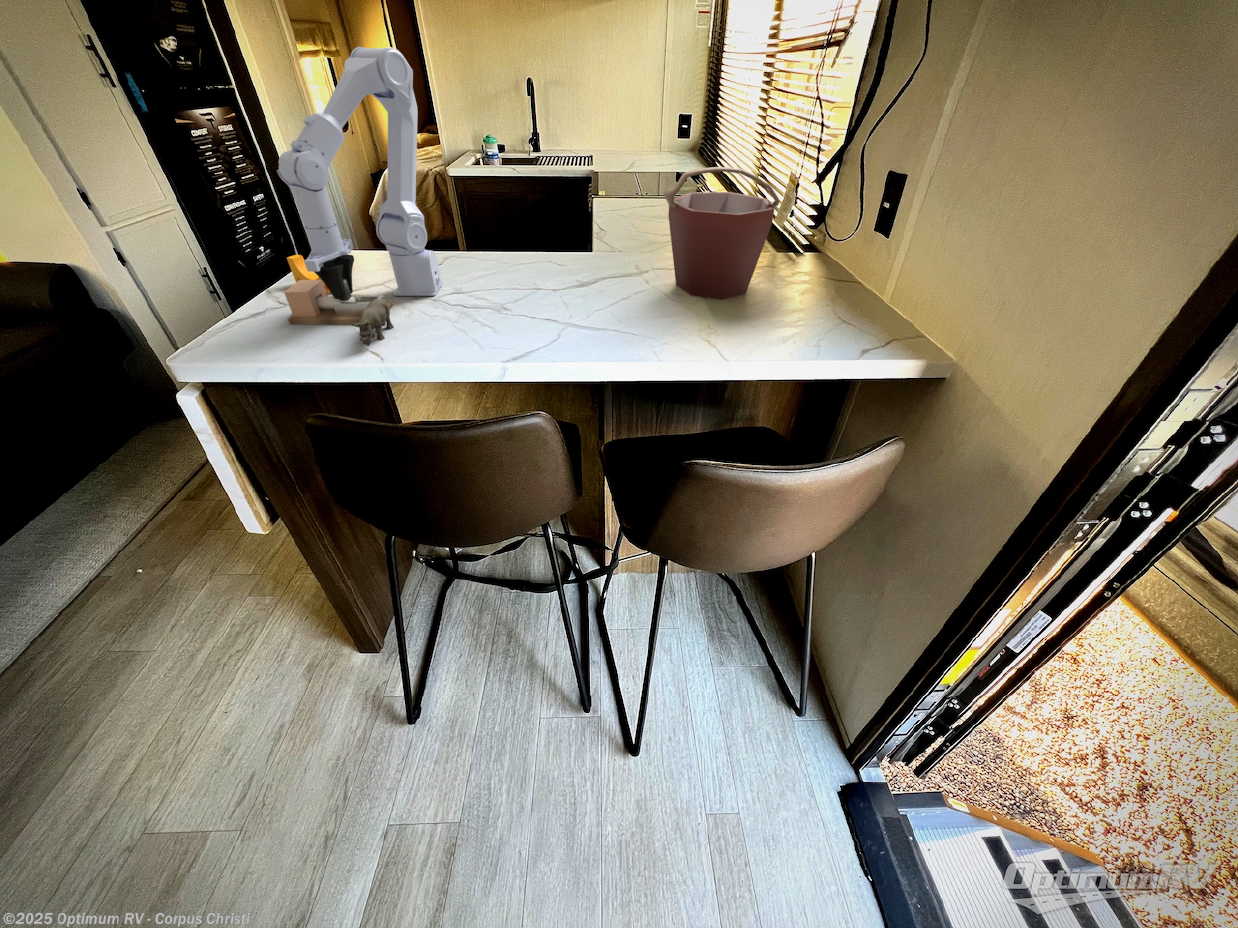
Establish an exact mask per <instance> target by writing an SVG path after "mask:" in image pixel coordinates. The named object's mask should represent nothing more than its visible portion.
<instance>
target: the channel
mask: <svg viewBox="0 0 1238 928" xmlns="http://www.w3.org/2000/svg"><path fill="white" fill-rule="evenodd" d="M351 296H352V297H355V299H356V302H334V303H333V306H334V309H335V312H336V314H362V312H363V311H364V310H365V309H366V308H367V307H368V304H369V303H370V302H371V301H373V300H375V299H376V298H377V299H379V300H382V301H384V302H386V301H387V300H386V297H385V295H384V294H382V295H381V294H380V295H379V294H375V295H374V294H370V295H368V294H365V295H363V294H357V295H353V294H351Z"/></svg>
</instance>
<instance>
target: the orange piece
mask: <svg viewBox="0 0 1238 928" xmlns="http://www.w3.org/2000/svg"><path fill="white" fill-rule="evenodd" d="M286 260H287V263H288V265H289V268H290V270H291V273H292V275H293V278H294V281H295V283H296V282H298V281H299V280H321V278H320V277H319V276H318V275H317V274H316V273H314V272H312V271H307V268H306V265H305V262H304V261H305V260H306V259H304V257H303V255H301V254H294V255H291V256H288V257H286ZM322 282H323V281H322ZM323 284H324V287H325V290H326V293H328V294H331V292H330V291H329V289H328V288H327V286H326V285H325V283H324V282H323Z"/></svg>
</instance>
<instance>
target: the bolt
mask: <svg viewBox="0 0 1238 928" xmlns="http://www.w3.org/2000/svg"><path fill="white" fill-rule="evenodd" d="M343 284H344V288H345V293H346V299H335V298H334V297H333V296H328V297H316V298H315V299H316V302H317V304H318V307H319V309H334V306H333V303H334V302H356V299H355V297H352V296H351V295H352V294H351V293H350V289H349V286H348V283H347V280H346V278H343Z"/></svg>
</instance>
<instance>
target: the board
mask: <svg viewBox="0 0 1238 928" xmlns="http://www.w3.org/2000/svg"><path fill="white" fill-rule="evenodd" d="M385 301H386V303H387V305H388V306H389V310H390V309H391V308H392V307H393V305H394V304H393V302H392V300H385ZM319 310H320V313H319V314H318V315H317V316H300V317H294V316H293V314H292V315H291V316H290V317H289V318H288V319H287V321H288V323H289V325H352V324H358V323H359V318H360V316H361V314H336V312H335V309H319Z"/></svg>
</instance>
